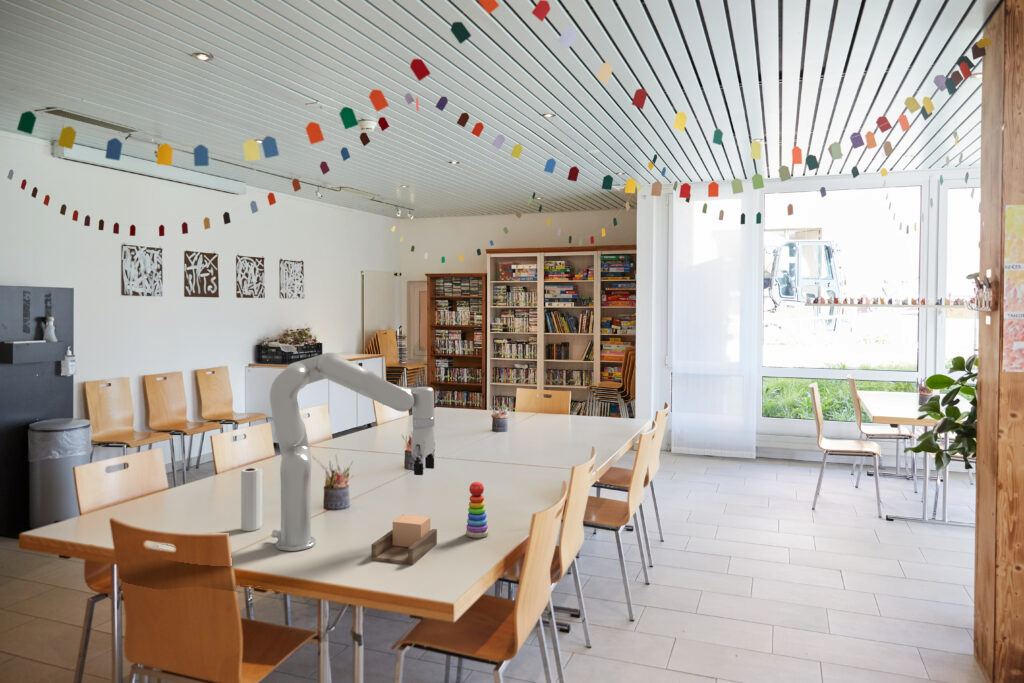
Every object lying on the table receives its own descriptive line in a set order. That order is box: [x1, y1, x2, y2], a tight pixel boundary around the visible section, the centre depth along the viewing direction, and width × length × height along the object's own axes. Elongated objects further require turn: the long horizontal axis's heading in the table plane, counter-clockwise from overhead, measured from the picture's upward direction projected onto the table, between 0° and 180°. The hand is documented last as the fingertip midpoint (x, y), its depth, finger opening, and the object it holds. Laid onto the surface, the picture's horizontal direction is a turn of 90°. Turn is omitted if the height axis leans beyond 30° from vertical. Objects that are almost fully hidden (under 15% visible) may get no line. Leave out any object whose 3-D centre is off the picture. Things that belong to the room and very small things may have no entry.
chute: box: [370, 528, 438, 566], centre depth 221 cm, size 14×20×5 cm
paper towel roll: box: [240, 467, 265, 532], centre depth 241 cm, size 7×6×21 cm
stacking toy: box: [465, 481, 489, 539], centre depth 238 cm, size 8×8×19 cm
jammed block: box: [392, 514, 431, 547], centre depth 225 cm, size 10×8×8 cm
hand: (424, 471), depth 236 cm, fingers open, 9 cm apart
